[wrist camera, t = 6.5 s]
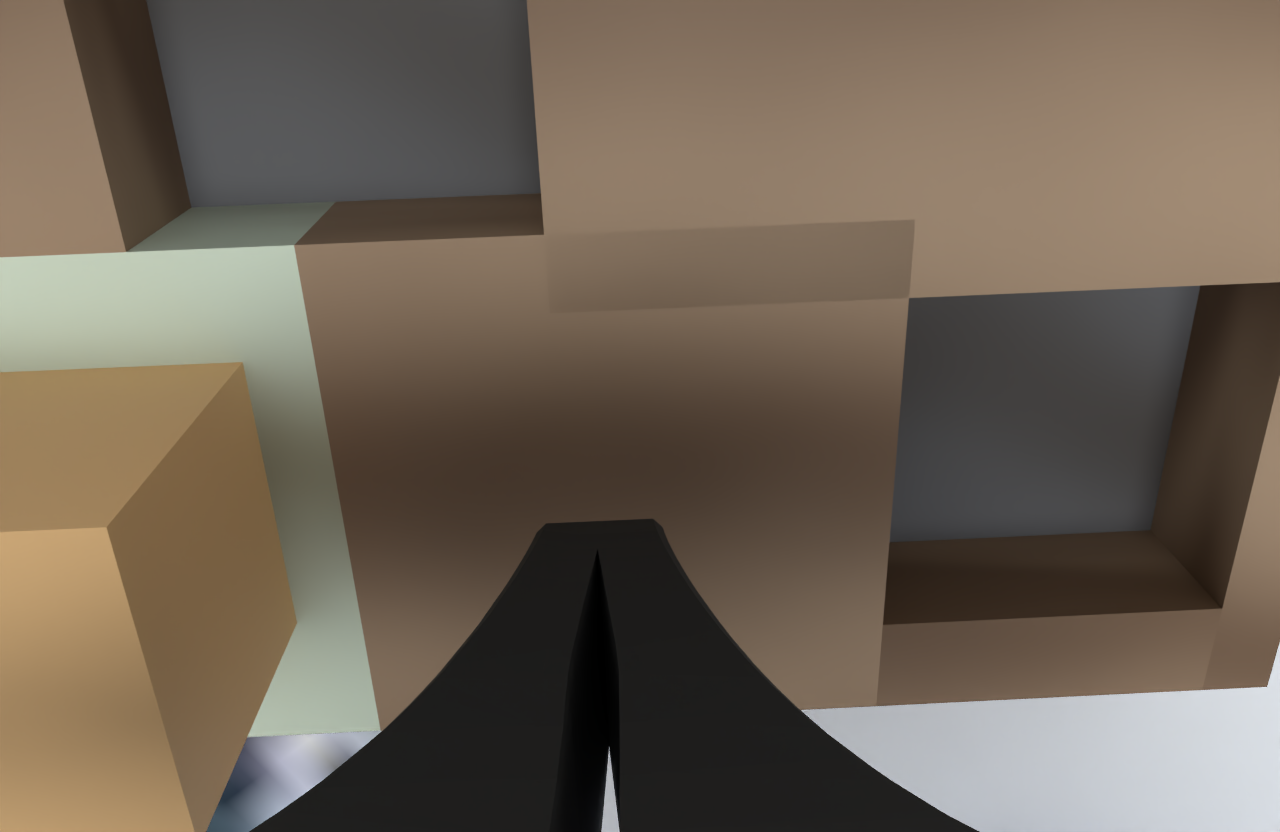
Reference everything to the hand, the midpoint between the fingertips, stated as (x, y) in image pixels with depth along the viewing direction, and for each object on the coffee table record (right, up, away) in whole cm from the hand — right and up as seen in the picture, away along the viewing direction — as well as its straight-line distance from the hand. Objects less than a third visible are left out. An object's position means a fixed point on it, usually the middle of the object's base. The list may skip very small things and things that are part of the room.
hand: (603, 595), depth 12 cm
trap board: (0, +5, +3) cm, 6 cm away
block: (-7, +1, +2) cm, 7 cm away
